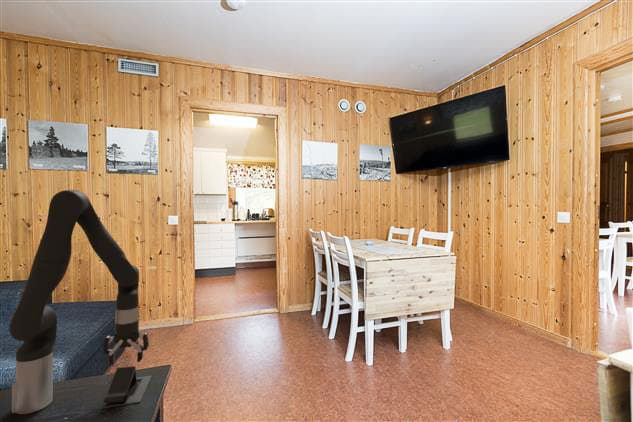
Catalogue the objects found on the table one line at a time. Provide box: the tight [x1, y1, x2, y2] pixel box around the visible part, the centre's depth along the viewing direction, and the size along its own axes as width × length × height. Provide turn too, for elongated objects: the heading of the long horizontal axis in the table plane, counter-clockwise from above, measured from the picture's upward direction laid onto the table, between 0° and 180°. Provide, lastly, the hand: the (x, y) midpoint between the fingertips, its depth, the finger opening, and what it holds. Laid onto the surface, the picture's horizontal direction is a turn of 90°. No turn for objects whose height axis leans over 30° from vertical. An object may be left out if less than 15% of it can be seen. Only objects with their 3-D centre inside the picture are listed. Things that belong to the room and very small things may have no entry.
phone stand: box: [103, 365, 138, 407], centre depth 107 cm, size 9×6×12 cm
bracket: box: [103, 375, 152, 409], centre depth 111 cm, size 11×17×1 cm, turn 17°
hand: (126, 362), depth 112 cm, fingers open, 8 cm apart
